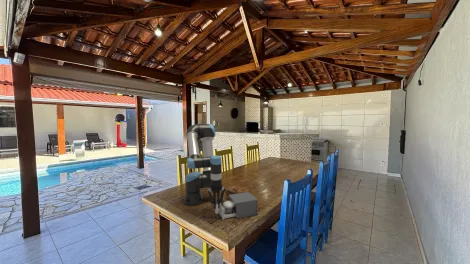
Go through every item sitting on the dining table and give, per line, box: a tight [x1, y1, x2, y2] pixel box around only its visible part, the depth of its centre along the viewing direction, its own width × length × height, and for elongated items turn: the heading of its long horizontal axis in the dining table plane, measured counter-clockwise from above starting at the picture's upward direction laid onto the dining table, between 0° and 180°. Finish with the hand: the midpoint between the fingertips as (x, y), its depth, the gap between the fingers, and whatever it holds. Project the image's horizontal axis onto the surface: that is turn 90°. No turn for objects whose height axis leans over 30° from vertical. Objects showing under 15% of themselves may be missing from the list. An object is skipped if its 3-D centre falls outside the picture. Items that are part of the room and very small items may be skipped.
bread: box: [224, 185, 251, 200], centre depth 159 cm, size 19×11×10 cm, turn 59°
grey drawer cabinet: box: [228, 192, 258, 219], centre depth 137 cm, size 15×16×10 cm
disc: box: [223, 200, 234, 208], centre depth 133 cm, size 8×8×2 cm
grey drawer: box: [218, 203, 236, 221], centre depth 134 cm, size 13×16×7 cm
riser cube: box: [216, 196, 226, 208], centre depth 146 cm, size 6×6×6 cm
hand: (216, 212), depth 130 cm, fingers closed
